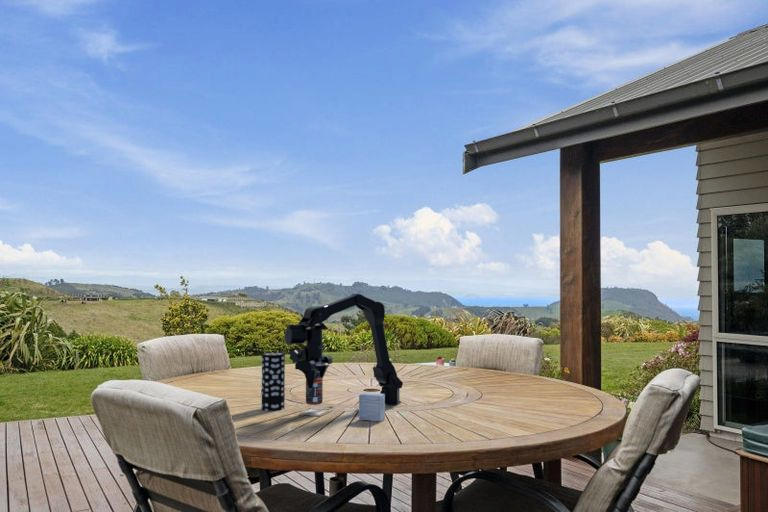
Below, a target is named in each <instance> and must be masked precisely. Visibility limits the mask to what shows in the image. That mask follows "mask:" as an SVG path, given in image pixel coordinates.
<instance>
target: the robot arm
mask: <svg viewBox="0 0 768 512" xmlns="http://www.w3.org/2000/svg"><path fill="white" fill-rule="evenodd" d="M353 307H356V308H357V309H359V310H361V311H362V313H363V315H364V317H365V320H366V321H367V322H368V325H369V326H370V331H371V335H372V342H373V347H374V352H375V358H376V365H375V366H373V367H372V371H373V378H375V379H376V382H378V385H379V387H381V391H380V392H379V394H385V405H387V406H388V405H389V406H397V405H399V404H401V402H402V401H401V400H400V389H402V388H403V384H404V382H403V381H402V380H401V379H400V378H399V377H398V373H397V371H396V368H395V366H394V364H393V363H392V361H391V360H390V354H389V349H388V344H387V338H386V333H385V328H384V320H385V317H386V314H385V313H386V311H385V310H386V309H385V305H384V303H382V302H381V301H375V300H373V299H371V298H369V297H366V296H365V295H363V294H361V293H352V294H350V295H349V296H346V297H343V298H340V299H337V300H335V301H332V302H330V303H327V304H324V305H316V306H310V307H306V308H305V309H304V312H303V316H302V318H301V319H300V320H299V322H298V323H297V324H287V328H286V330H285V332H284V340H285V342H286V345H298V344H299V345H300V344H306V345H304V346H303V347H302V348H303V350H299V351H298V350H296V349H295V350H291V351H290V354H289V360H291V361H292V363H293V364H294V369H295V370H297V371H298V370H299V371H300V372H301V373H303V374H304V376H305V377H304V378H305V381H306V380H307V384H308V387H309V388H312V387H313V384H314V380H315V377H316V373H317V371H320V377H321V378H322V379H323V378H324V376H325V374H326V373H327V370H328V368H329V367H330V365H331V364H333V357H332V356H331V355H323V349H325V345H324V344H323V330H324V331H326V330H328V329H329V327H328V326H326V324H325V323H324V322H325V321H326V320H328V319H330V317H331V316H333V315H335V314H337V313H340V312H343V311H345V310H347V309H350V308H353ZM323 380H324V379H323Z"/></svg>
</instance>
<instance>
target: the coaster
mask: <svg viewBox="0 0 768 512" xmlns="http://www.w3.org/2000/svg"><path fill="white" fill-rule="evenodd" d="M327 412H328V413H329V412H330V411H329V410H324V409H322V410H321V409H320V410H319V409H306V410H305V411H302V412H300V413H298V416H304V415H310V416H309V417H318V416H320V417H322V416H323V414H324V415H326V414H328V413H327ZM325 413H326V414H325ZM321 415H322V416H321Z"/></svg>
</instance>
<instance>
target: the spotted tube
mask: <svg viewBox="0 0 768 512" xmlns="http://www.w3.org/2000/svg"><path fill="white" fill-rule="evenodd" d="M285 361H286V353H285V352H266V353H261V411H266V412H267V411H268V412H276V411H277V410H278V411H283V410H285V407H286V406H285V403H286V402H285V396H286V395H285V393H286V392H285V391H286V389H285V386H286V385H285V383H286V382H285V381H286V380H285V379H286V375H285V374H286V362H285ZM282 409H283V410H282Z"/></svg>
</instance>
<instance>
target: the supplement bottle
mask: <svg viewBox="0 0 768 512" xmlns="http://www.w3.org/2000/svg"><path fill="white" fill-rule="evenodd" d="M323 381H324V379H322V378H321V377H320V371H317V373H316V377H315V380H314V384H313V387H312V388H309V387H308V384H307V380H306V379H305V403H306V405H308V406H309V405H310V406H311V405H312V406H313V405H314V406H316V405H321V404H322V403H323V395H324V394H323V391H324V390H323V388H324V387H323V386H324V385H323Z"/></svg>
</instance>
